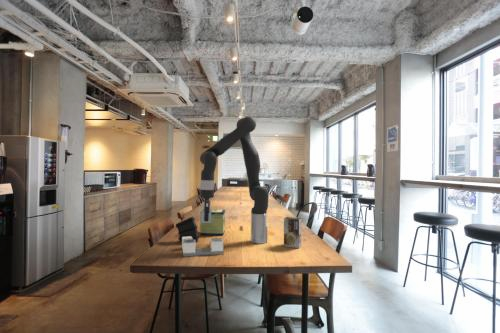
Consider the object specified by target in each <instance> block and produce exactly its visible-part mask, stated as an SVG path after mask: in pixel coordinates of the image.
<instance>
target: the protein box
mask: <svg viewBox="0 0 500 333" xmlns="http://www.w3.org/2000/svg"><path fill="white" fill-rule="evenodd" d="M201 212H202V210H201V211H200V213H201ZM199 216H200V217H199V218H200V220H199V222H200V224H199V227H200V228H199V236H223V237H224V234H225V233H226V230H225V228H226V209H211V223H201V214H200V215H199Z"/></svg>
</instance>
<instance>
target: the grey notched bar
mask: <svg viewBox="0 0 500 333" xmlns="http://www.w3.org/2000/svg"><path fill="white" fill-rule="evenodd" d="M209 242H210V243H209V244H210V245H209V246H210V247H205V248H204V247H203V248H196V246H197V245H196V244H197V243H196V242H195V239H191V240H183V249H182V257H183V258H184V257H185V258H186V257H201V256H216V255H217V256H218V255H224V240H223V237H218V238H217V237H214V238H210V241H209Z"/></svg>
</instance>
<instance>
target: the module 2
mask: <svg viewBox="0 0 500 333" xmlns="http://www.w3.org/2000/svg"><path fill="white" fill-rule="evenodd" d="M211 210H212V209H211V208H210V210H209V219H208V221H204V209H203V208H201V211H202V212H201V211H200V215H201V223H211ZM206 211H208V210H206Z"/></svg>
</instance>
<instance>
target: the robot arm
mask: <svg viewBox="0 0 500 333" xmlns="http://www.w3.org/2000/svg"><path fill="white" fill-rule="evenodd" d="M256 127H257V122H256V120H255V118H253V117H252V116H245V117H242V118H240V119H238V120H237V121H236V128H235V129H234V130H232V131H231V132H229V133H227V134H226V135H224V136H223V137H222V138H220V139H219V140H218V141H217V142H216V143H215V144H214V145H212V146H211V147H208V148H207V149H206V150H204V151H203V152H202V153H201V154H200V156H199V160H200V163H201V164H202V165H203V169H202V170H201V172H200V183H199V197H200V198H202V199H204V200H203V201H202V205H203V206H202V209H204V221H208V219H209V210H210V209H211V200H210V199H212V198H214V197H215V171H216V167H217V162H218V157H220V156H222V155H223V154H225V153H226V152H227V151H228V150H229V149H230V148H231V147H233V146H234V145H235V144H236V143H238V141H240V145H241V150H242V155H243V160H244V161H243V162H244V166H245V171H246V172H245V173H246V176H247V180H248V181H247V182H248V191H249V192H248V193H249V197H250V199H251V200H252V201H253V202H254V203H253V207H251V212H250V213H251V214H250V220H251V221H250V242H251V243H252V244H258V245H259V244H265V243H268V225H267V210H269V209H268V207H269V190H268V189H267V188H266V187H264V186H261V183H260V182H261V181H260V171H261V170H260V169H261V160H260V154H259V152H258V150H257V148H256V147H255V145H254V143H253V142H252V138H251V133H252V132H253V131H254V130H255V129H256ZM206 210H208V211H206Z"/></svg>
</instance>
